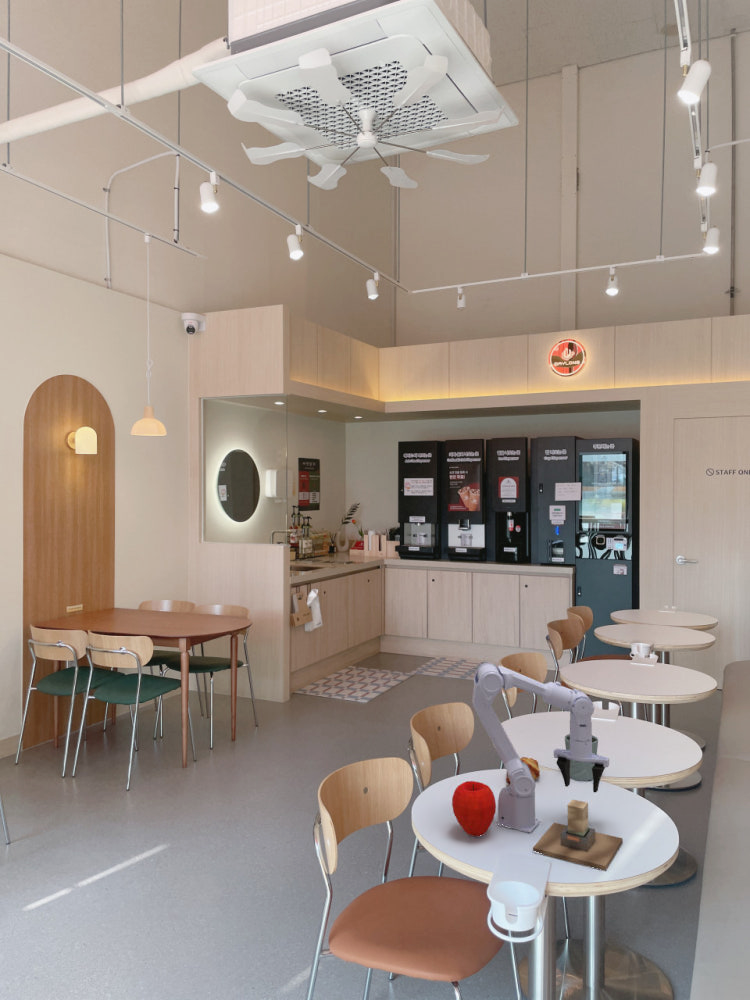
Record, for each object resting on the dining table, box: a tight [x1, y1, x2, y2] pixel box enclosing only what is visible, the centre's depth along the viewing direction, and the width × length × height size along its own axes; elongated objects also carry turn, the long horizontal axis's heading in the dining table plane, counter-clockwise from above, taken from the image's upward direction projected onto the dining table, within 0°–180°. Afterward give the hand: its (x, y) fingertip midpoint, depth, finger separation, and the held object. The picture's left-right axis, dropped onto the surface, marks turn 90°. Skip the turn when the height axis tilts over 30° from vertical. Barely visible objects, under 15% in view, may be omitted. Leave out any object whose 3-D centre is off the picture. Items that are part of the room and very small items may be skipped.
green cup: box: [564, 733, 599, 782], centre depth 236 cm, size 10×10×12 cm
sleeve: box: [561, 824, 596, 852], centre depth 190 cm, size 7×7×3 cm
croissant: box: [505, 756, 541, 786], centre depth 235 cm, size 21×10×8 cm, turn 148°
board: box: [532, 822, 624, 872], centre depth 190 cm, size 18×16×1 cm
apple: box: [451, 780, 497, 837], centre depth 199 cm, size 12×12×13 cm
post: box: [567, 799, 590, 836], centre depth 190 cm, size 4×4×7 cm
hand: (581, 788), depth 202 cm, fingers open, 7 cm apart
